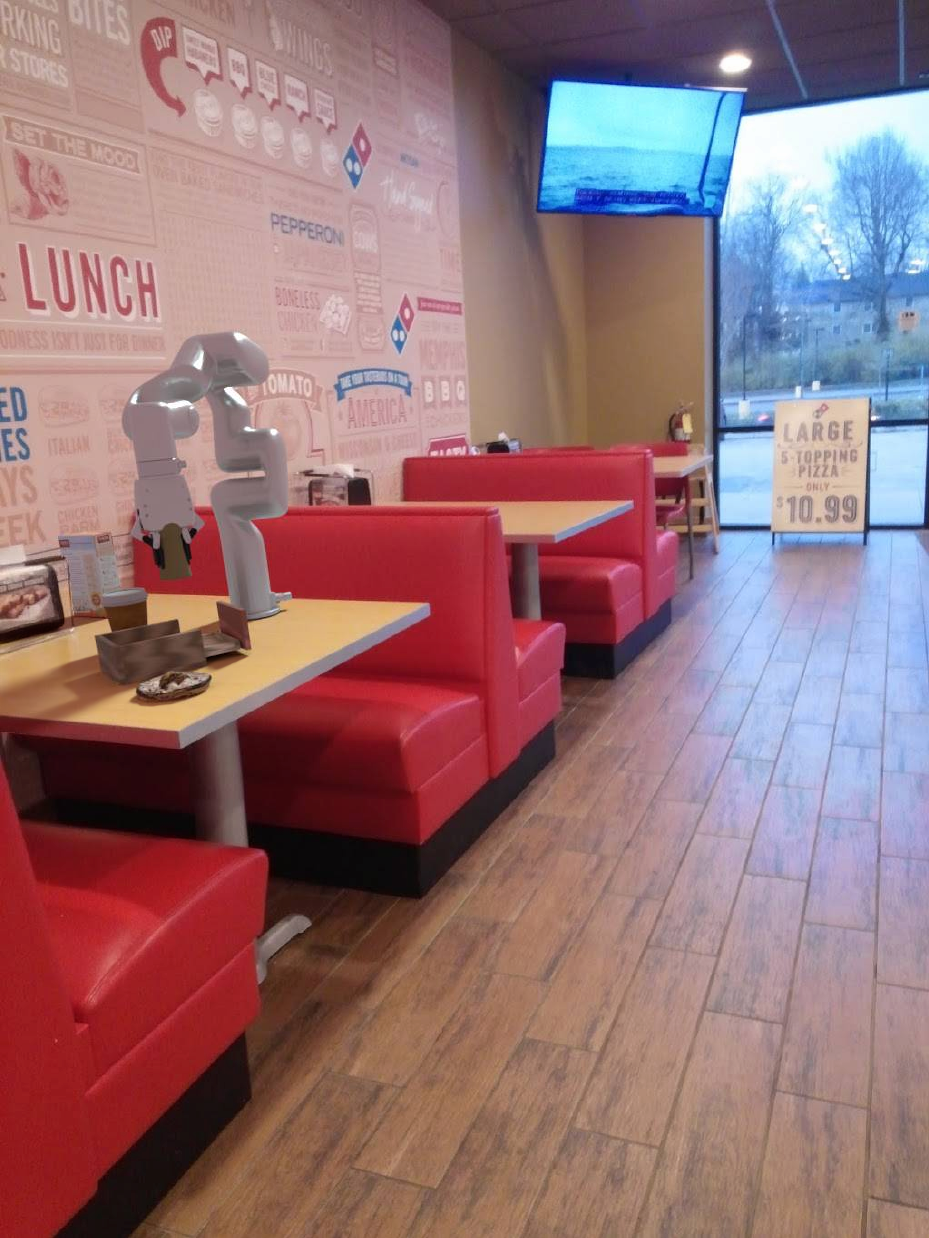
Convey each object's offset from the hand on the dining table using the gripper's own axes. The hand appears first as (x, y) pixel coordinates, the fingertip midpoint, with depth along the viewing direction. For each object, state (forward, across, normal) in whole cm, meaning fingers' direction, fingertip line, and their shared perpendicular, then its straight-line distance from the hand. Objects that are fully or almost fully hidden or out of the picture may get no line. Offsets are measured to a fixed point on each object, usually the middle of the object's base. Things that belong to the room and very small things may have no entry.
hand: (174, 565), depth 187 cm
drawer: (+18, -2, 0) cm, 18 cm away
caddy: (+19, +7, 0) cm, 20 cm away
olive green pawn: (+2, 0, 0) cm, 2 cm away
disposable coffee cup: (+19, +5, -22) cm, 30 cm away
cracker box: (+19, +1, -69) cm, 72 cm away
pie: (+19, +9, +20) cm, 29 cm away
